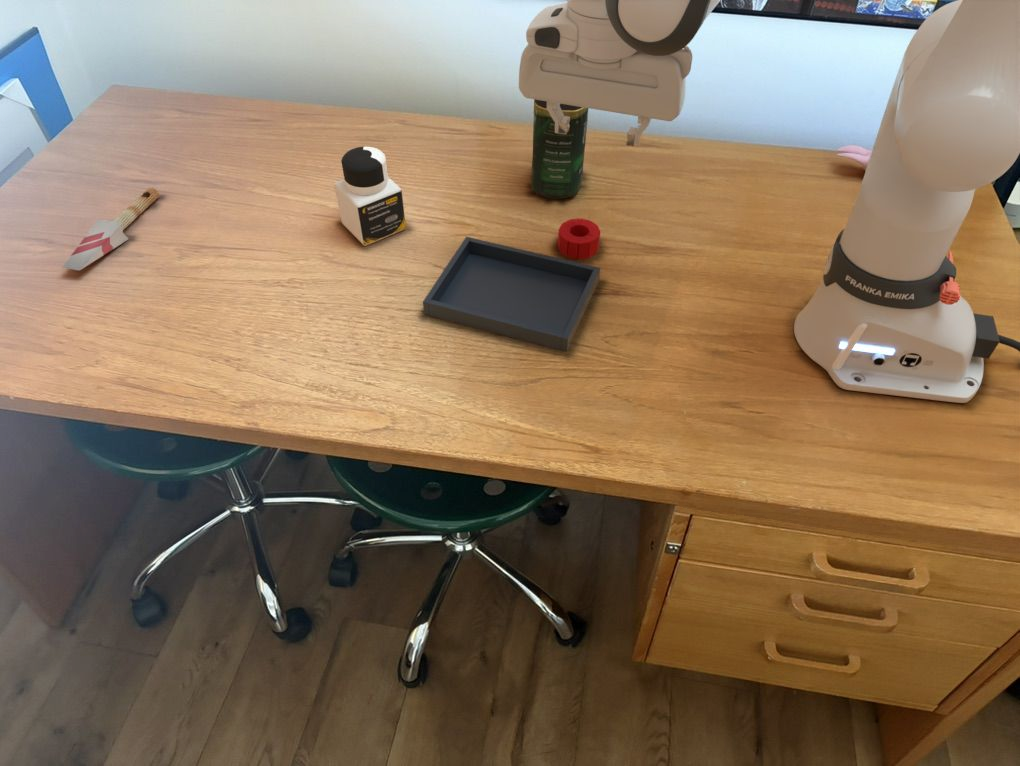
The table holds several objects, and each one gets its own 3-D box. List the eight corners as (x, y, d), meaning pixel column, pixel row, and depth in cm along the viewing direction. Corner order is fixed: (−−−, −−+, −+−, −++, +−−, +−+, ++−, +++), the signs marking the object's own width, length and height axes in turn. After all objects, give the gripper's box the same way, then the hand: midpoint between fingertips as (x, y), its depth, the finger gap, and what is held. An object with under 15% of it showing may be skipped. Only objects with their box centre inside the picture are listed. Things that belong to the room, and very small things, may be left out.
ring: (602, 241, 115) (604, 223, 113) (591, 265, 111) (593, 246, 109) (565, 233, 116) (566, 215, 114) (552, 256, 113) (553, 238, 110)
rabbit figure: (924, 181, 128) (833, 151, 129) (945, 149, 123) (851, 119, 124) (924, 202, 124) (830, 171, 125) (946, 171, 119) (848, 139, 120)
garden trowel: (53, 257, 108) (140, 182, 121) (61, 273, 110) (146, 198, 123) (78, 262, 107) (163, 186, 121) (86, 278, 109) (168, 202, 122)
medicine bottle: (364, 247, 114) (352, 175, 105) (340, 223, 118) (327, 151, 109) (407, 229, 117) (398, 157, 108) (382, 206, 121) (372, 135, 112)
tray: (599, 282, 109) (600, 267, 107) (566, 354, 100) (567, 339, 98) (466, 251, 113) (466, 236, 111) (424, 317, 104) (422, 301, 102)
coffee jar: (579, 203, 121) (587, 88, 107) (528, 199, 122) (530, 84, 108) (585, 168, 128) (594, 56, 114) (536, 164, 129) (539, 52, 115)
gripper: (700, 29, 91) (683, 139, 101) (531, 7, 96) (531, 113, 106) (689, 53, 87) (672, 165, 97) (513, 28, 92) (514, 137, 102)
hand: (597, 138), depth 101 cm, fingers open, 8 cm apart
